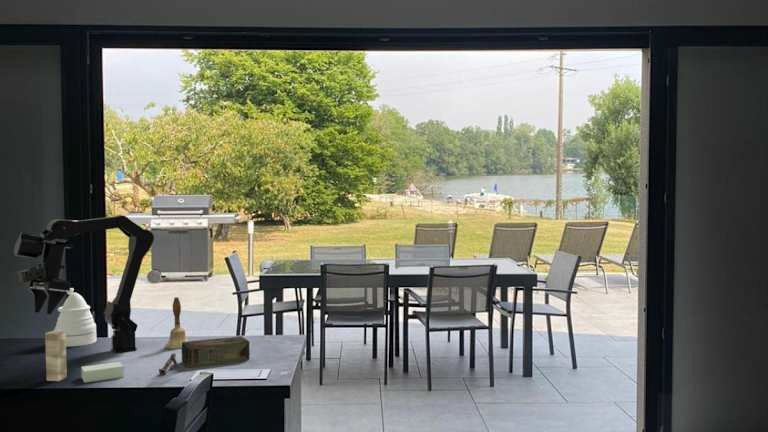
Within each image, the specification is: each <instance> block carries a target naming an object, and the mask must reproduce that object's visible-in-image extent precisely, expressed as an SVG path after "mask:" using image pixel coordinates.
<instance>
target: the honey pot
mask: <svg viewBox="0 0 768 432" xmlns="http://www.w3.org/2000/svg"><path fill="white" fill-rule="evenodd" d="M74 290H75V289H74V287H70V291H66V290H65V292H67V295H68V296H67V298H66V300H65V301H64V303H63V304H62V306H60V307H58V308H57V312H60V313H59V315H58V317H57V321H56V326H55V327H54V330H60V331H66V348H68V347H81V346H86V345H91V344H93V343H94V344H95V342H97V340H98V339H97V324H96V322H95V319H94V317H93V314H92V312H91V311H90V309H91V306H90V305H89V304H87V302H86V300H85V298H84V297H83V296H82V295H81V294H79V293H78V292H75V291H74Z"/></svg>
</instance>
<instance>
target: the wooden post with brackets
mask: <svg viewBox="0 0 768 432" xmlns="http://www.w3.org/2000/svg"><path fill="white" fill-rule="evenodd" d="M176 357H177V354H176V353H171V355H170V357H169V358H168V359H167V361H166V362H165V364H164V366H163V367H162V368H159V369H158V371H159V375H167V370H168V368H169V371H170V370H171V371H174V369H176V368H177V367H178V362H177V360H176ZM172 362H173V364H172Z"/></svg>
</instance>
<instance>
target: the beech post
mask: <svg viewBox="0 0 768 432" xmlns="http://www.w3.org/2000/svg"><path fill="white" fill-rule="evenodd" d="M44 339H45V340H44V341H45V342H44V343H45V345H44V346H45V370H46V374H45V375H46V381H48V382H60V381H62V380H64V379H67V378H68V374H67V373H68V372H67V371H68V367H67V347H66V331H60V330H55V329H53V330H50V331H47V332H44Z"/></svg>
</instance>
